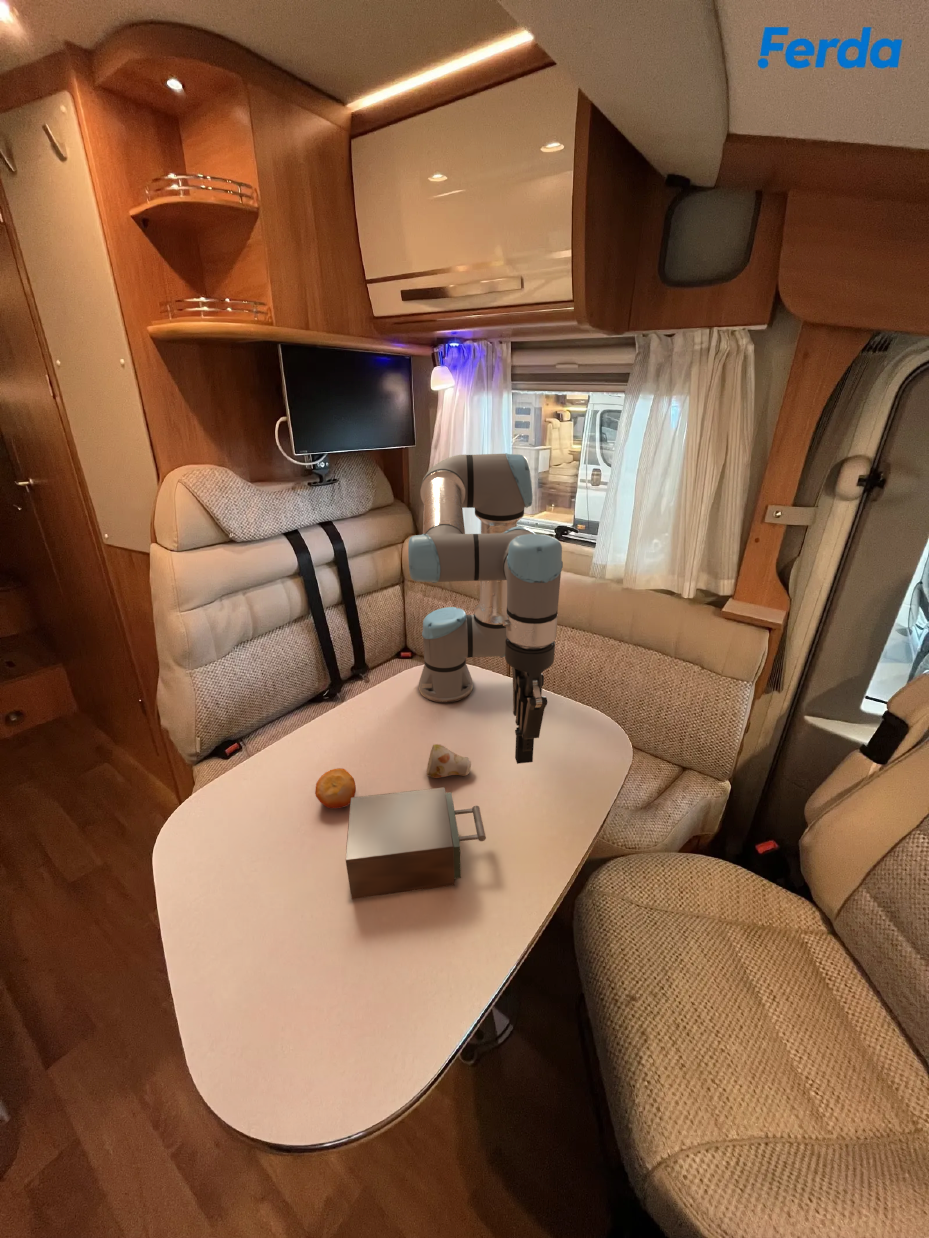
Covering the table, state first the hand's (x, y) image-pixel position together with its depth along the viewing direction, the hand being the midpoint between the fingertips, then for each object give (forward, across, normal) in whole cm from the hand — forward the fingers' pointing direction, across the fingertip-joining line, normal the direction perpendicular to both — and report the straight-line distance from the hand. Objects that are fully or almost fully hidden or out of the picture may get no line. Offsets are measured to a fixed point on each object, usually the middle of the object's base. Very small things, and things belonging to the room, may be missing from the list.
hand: (523, 759), depth 86 cm
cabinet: (+20, 0, -22) cm, 30 cm away
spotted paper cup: (+21, -21, -11) cm, 31 cm away
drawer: (+20, 0, -18) cm, 26 cm away
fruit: (+21, -16, -35) cm, 44 cm away
